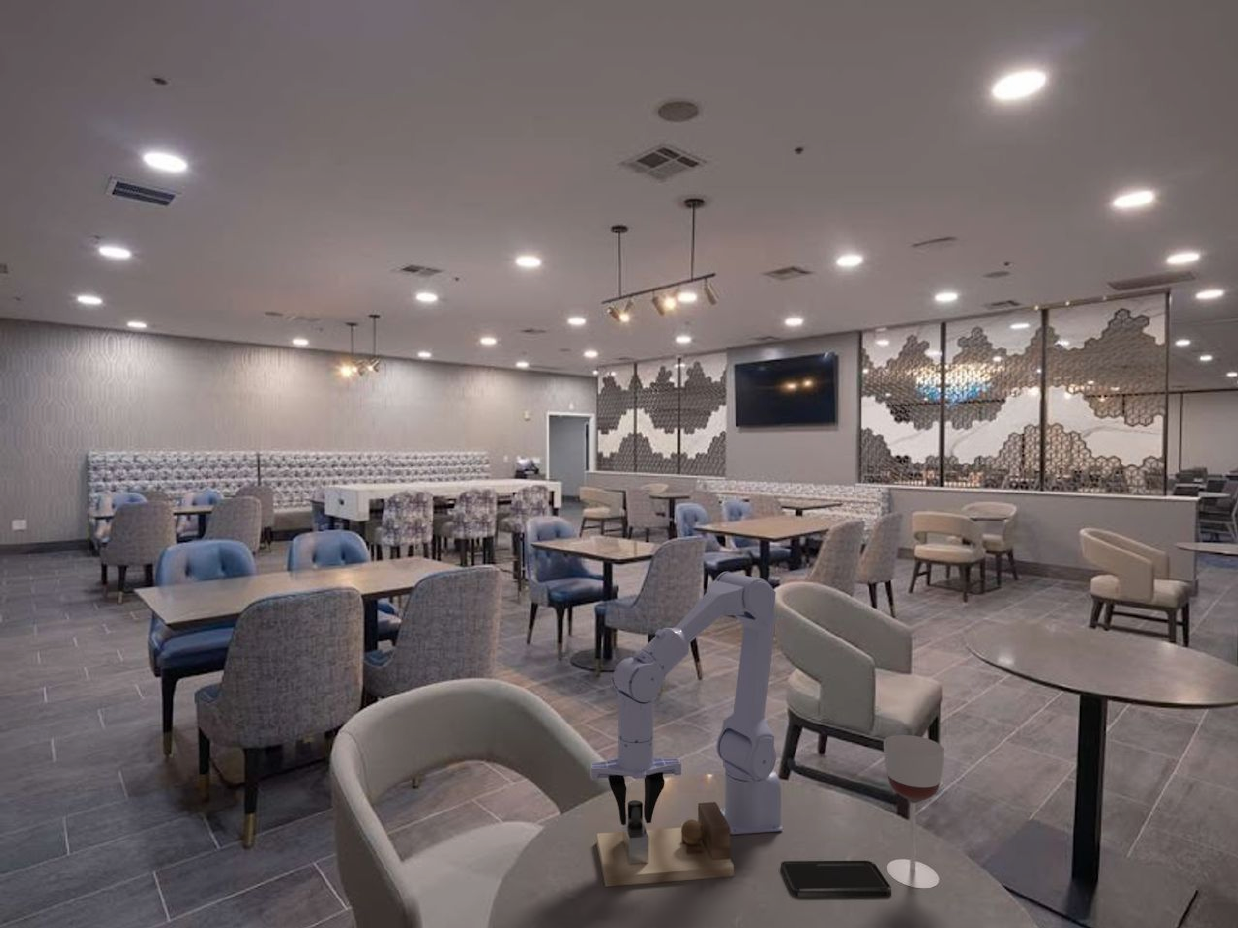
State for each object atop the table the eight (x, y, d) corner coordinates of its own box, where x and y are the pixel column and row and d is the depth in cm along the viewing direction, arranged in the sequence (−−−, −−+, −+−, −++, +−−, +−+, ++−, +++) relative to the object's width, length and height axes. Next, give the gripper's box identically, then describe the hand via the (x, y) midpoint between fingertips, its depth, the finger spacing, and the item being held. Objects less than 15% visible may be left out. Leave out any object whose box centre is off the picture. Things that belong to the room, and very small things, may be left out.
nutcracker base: (711, 833, 115) (712, 796, 115) (733, 875, 104) (734, 833, 104) (596, 842, 113) (596, 803, 113) (605, 886, 101) (605, 843, 101)
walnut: (699, 836, 111) (700, 814, 111) (705, 848, 107) (706, 825, 107) (678, 837, 110) (678, 815, 110) (683, 850, 107) (684, 827, 107)
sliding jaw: (640, 837, 111) (640, 792, 111) (648, 862, 104) (648, 814, 104) (622, 839, 111) (622, 793, 111) (629, 864, 104) (629, 815, 104)
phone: (893, 891, 99) (793, 891, 99) (893, 898, 99) (792, 899, 99) (872, 859, 107) (779, 860, 106) (872, 867, 107) (779, 867, 106)
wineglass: (953, 889, 101) (953, 756, 101) (894, 888, 101) (895, 755, 101) (929, 858, 108) (930, 735, 109) (875, 857, 109) (876, 734, 109)
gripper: (593, 748, 102) (592, 837, 102) (685, 743, 105) (685, 830, 104) (588, 730, 109) (588, 813, 109) (675, 726, 112) (675, 807, 111)
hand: (635, 820), depth 107 cm, fingers open, 3 cm apart
